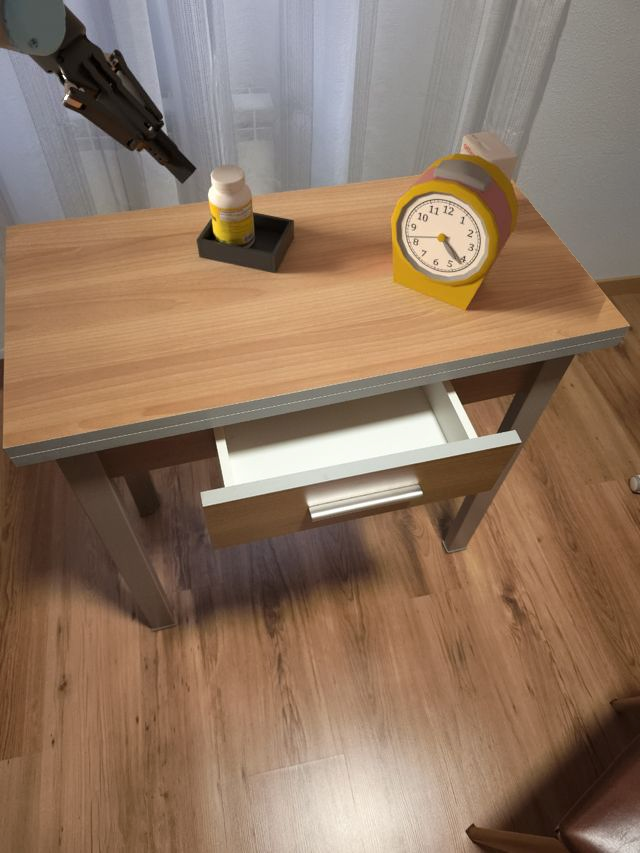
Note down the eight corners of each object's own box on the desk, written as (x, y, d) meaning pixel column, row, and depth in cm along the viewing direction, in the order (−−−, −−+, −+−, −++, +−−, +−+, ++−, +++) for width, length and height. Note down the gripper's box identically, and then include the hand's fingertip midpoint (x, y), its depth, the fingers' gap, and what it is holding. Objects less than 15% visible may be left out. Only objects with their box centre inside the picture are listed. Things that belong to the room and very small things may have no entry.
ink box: (498, 226, 93) (521, 156, 83) (471, 232, 92) (491, 162, 82) (472, 197, 97) (491, 128, 88) (446, 203, 96) (462, 133, 87)
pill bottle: (217, 228, 89) (208, 160, 80) (256, 229, 89) (251, 162, 80) (212, 253, 86) (202, 185, 77) (253, 254, 86) (248, 186, 77)
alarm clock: (380, 280, 84) (398, 160, 69) (404, 251, 88) (425, 132, 73) (474, 317, 80) (515, 199, 65) (494, 285, 84) (536, 166, 69)
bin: (199, 257, 86) (196, 239, 83) (221, 222, 91) (219, 205, 89) (275, 273, 84) (275, 256, 82) (294, 237, 89) (294, 219, 87)
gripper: (57, 26, 76) (193, 167, 87) (-1, 67, 68) (156, 215, 79) (80, -17, 71) (221, 138, 82) (21, 21, 63) (185, 186, 74)
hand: (189, 176), depth 81 cm, fingers closed
